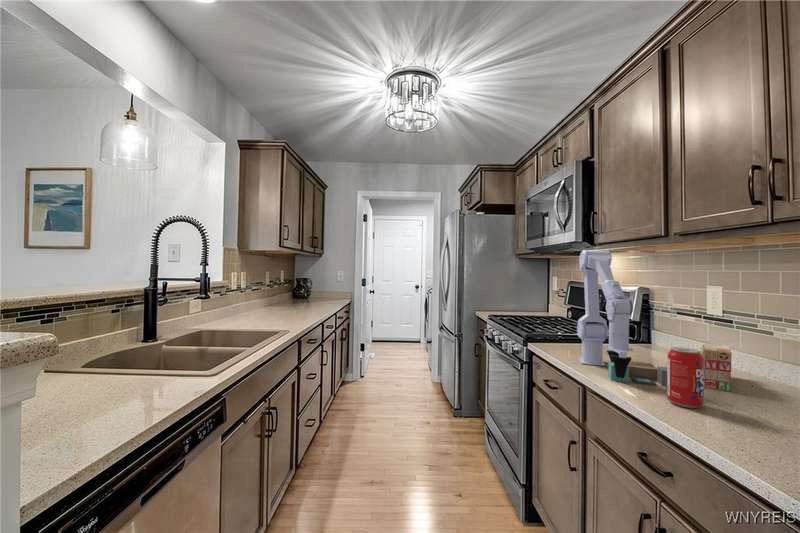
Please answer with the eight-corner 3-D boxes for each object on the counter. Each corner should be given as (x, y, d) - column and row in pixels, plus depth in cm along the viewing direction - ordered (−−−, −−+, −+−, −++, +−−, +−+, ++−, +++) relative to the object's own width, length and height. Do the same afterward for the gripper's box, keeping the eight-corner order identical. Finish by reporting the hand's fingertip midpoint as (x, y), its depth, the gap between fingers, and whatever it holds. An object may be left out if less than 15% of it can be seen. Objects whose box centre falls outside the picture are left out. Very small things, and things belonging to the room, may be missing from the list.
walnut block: (621, 371, 131) (621, 360, 131) (651, 374, 128) (651, 363, 128) (625, 378, 123) (625, 366, 123) (657, 381, 120) (657, 369, 120)
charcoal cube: (657, 381, 119) (657, 366, 119) (675, 383, 117) (675, 368, 117) (661, 386, 114) (661, 370, 114) (680, 388, 112) (681, 372, 112)
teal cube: (608, 376, 124) (608, 361, 124) (625, 378, 122) (625, 363, 122) (611, 380, 119) (611, 365, 119) (628, 382, 118) (628, 367, 118)
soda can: (660, 398, 102) (660, 346, 103) (687, 399, 102) (688, 346, 103) (681, 409, 95) (682, 352, 95) (711, 410, 95) (712, 352, 95)
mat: (630, 378, 122) (630, 376, 122) (651, 380, 120) (651, 378, 120) (634, 383, 117) (634, 381, 117) (656, 385, 114) (656, 384, 114)
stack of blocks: (700, 372, 130) (701, 338, 130) (724, 376, 126) (724, 341, 126) (704, 388, 113) (704, 348, 113) (731, 392, 109) (731, 351, 109)
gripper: (638, 339, 113) (637, 382, 113) (627, 331, 126) (627, 370, 126) (612, 337, 115) (611, 379, 115) (604, 330, 129) (604, 368, 129)
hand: (618, 374), depth 121 cm, fingers open, 5 cm apart
